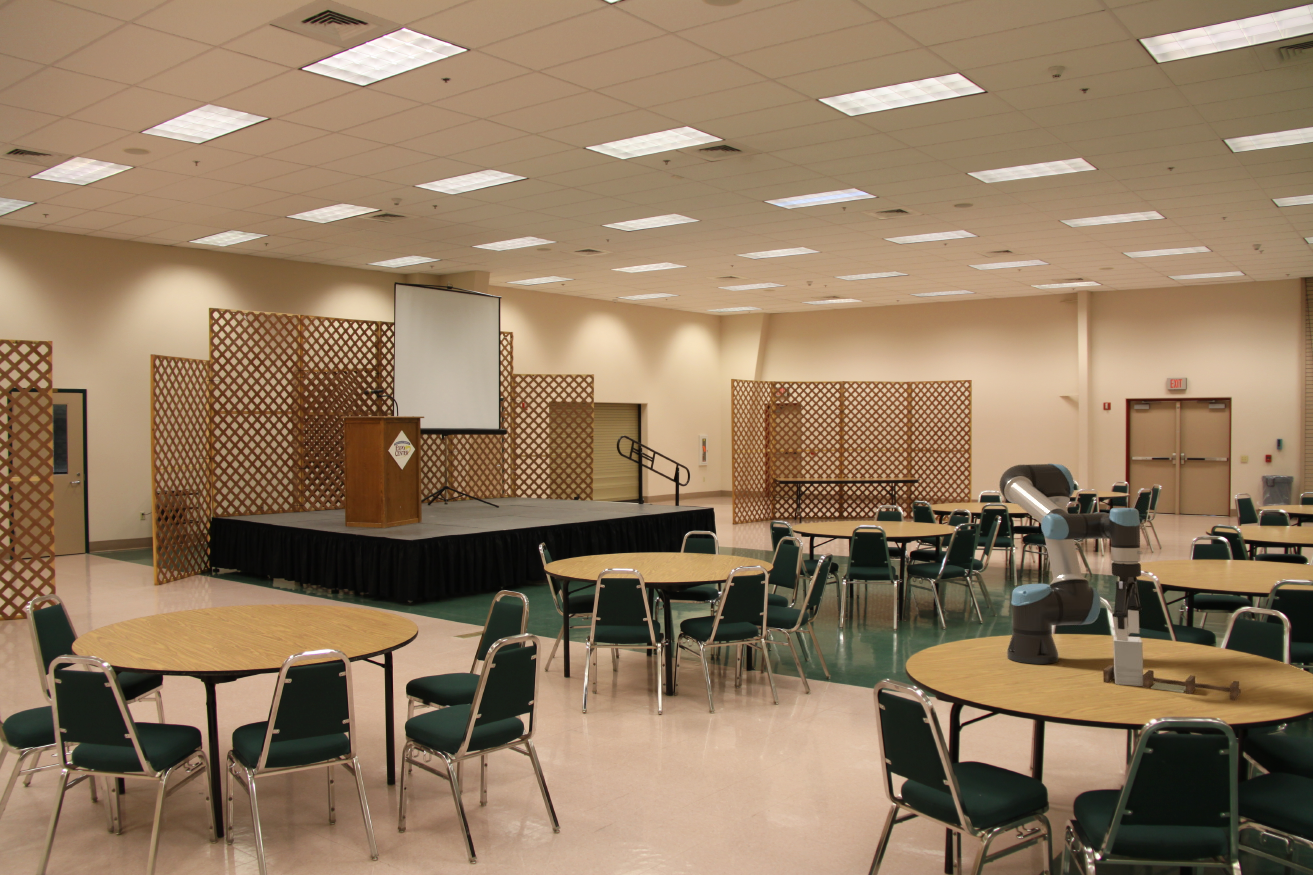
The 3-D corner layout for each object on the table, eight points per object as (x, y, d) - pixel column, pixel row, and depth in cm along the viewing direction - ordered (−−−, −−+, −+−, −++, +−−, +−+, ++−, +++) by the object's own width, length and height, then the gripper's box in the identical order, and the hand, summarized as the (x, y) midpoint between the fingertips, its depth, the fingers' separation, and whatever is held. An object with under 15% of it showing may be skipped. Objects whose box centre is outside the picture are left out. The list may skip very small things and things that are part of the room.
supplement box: (1142, 680, 268) (1141, 636, 268) (1143, 686, 261) (1142, 641, 261) (1113, 678, 271) (1112, 634, 271) (1114, 684, 264) (1113, 639, 264)
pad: (1150, 688, 259) (1150, 687, 259) (1155, 683, 264) (1155, 682, 264) (1183, 692, 254) (1183, 691, 254) (1187, 687, 259) (1187, 686, 259)
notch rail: (1103, 681, 267) (1103, 669, 267) (1111, 675, 274) (1111, 663, 274) (1235, 699, 246) (1235, 686, 246) (1240, 692, 254) (1240, 679, 254)
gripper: (1129, 567, 254) (1132, 645, 254) (1150, 558, 273) (1152, 631, 273) (1100, 565, 259) (1102, 642, 258) (1122, 557, 278) (1124, 628, 278)
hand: (1128, 636), depth 266 cm, fingers open, 13 cm apart
